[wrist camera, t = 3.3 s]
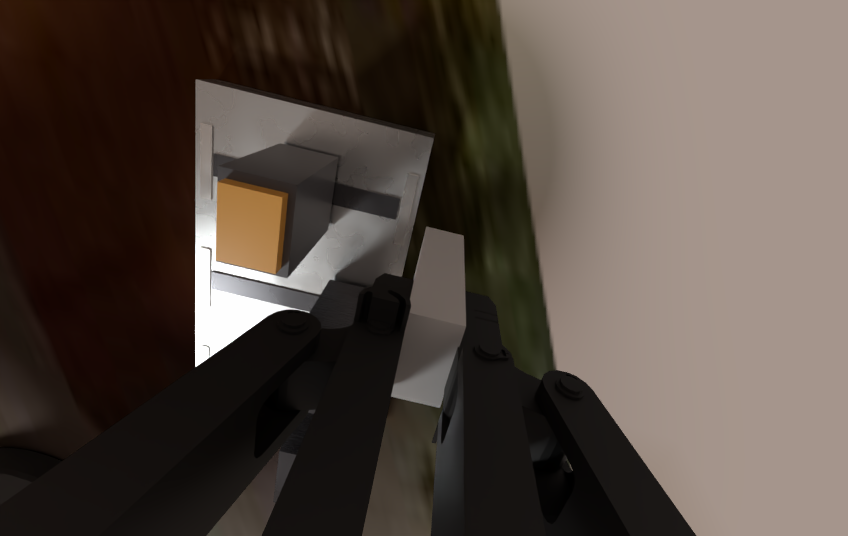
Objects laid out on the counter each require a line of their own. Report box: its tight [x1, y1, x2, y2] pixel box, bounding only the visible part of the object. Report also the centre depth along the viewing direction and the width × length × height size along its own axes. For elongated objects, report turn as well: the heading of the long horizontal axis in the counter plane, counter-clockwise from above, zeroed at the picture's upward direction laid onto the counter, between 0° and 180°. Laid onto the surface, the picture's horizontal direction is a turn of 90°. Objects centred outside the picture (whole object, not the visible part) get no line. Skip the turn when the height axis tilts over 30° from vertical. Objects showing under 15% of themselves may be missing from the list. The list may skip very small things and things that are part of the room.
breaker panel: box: [195, 79, 435, 503], centre depth 23 cm, size 12×22×8 cm, turn 167°
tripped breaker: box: [216, 143, 338, 278], centre depth 19 cm, size 3×4×7 cm
